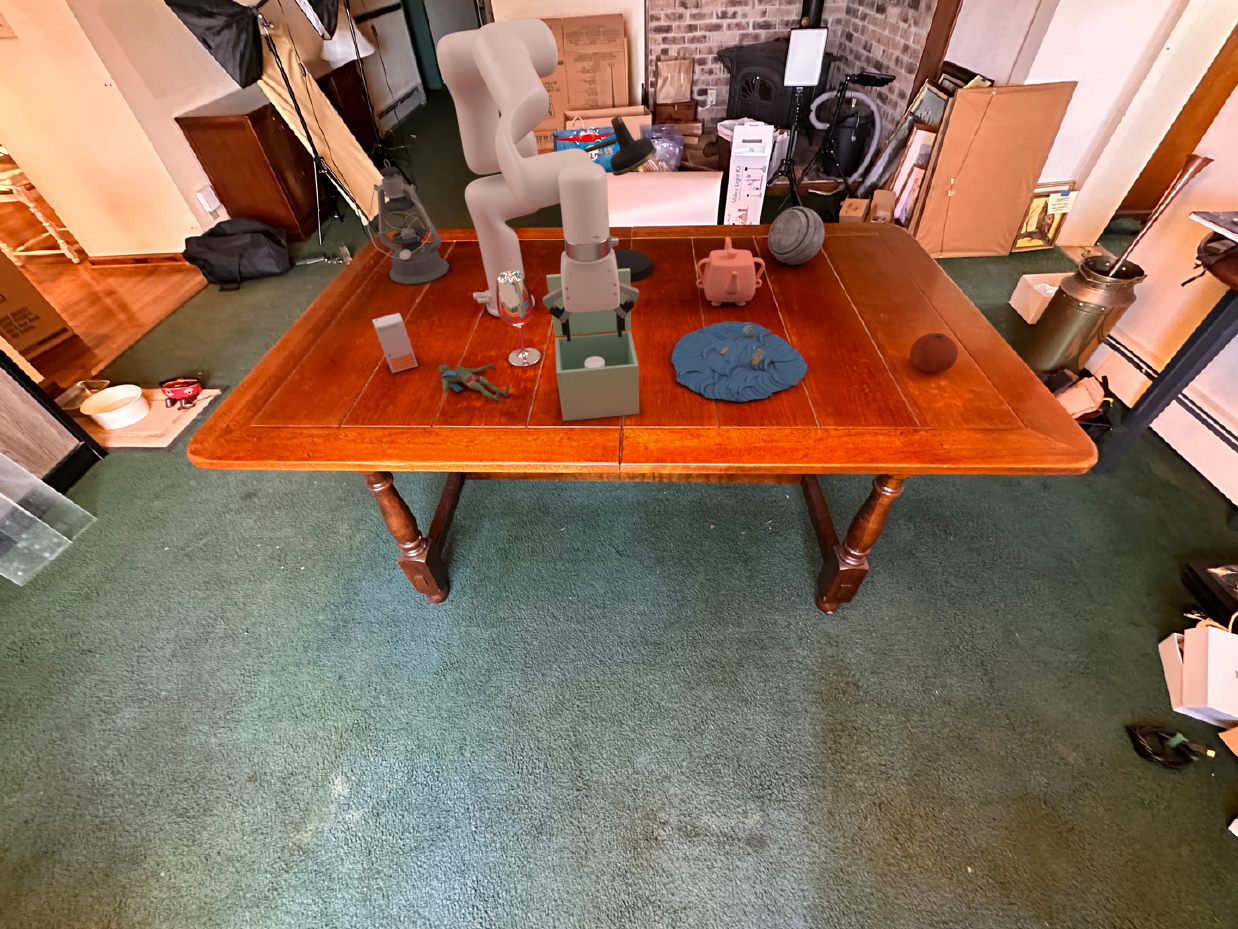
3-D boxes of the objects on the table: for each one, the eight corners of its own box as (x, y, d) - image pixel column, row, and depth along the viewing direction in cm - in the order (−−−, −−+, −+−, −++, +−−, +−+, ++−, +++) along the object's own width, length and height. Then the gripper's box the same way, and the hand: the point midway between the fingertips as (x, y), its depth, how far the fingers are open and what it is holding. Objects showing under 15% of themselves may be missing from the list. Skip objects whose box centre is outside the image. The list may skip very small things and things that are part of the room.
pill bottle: (607, 410, 114) (603, 371, 106) (582, 407, 115) (576, 368, 108) (614, 393, 117) (611, 355, 110) (590, 390, 118) (585, 352, 111)
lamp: (656, 281, 154) (658, 123, 127) (578, 284, 155) (563, 126, 128) (654, 256, 166) (655, 105, 138) (581, 258, 166) (568, 109, 139)
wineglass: (546, 351, 131) (534, 270, 117) (532, 369, 126) (518, 287, 112) (517, 346, 133) (501, 265, 119) (501, 364, 128) (484, 282, 114)
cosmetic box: (392, 374, 127) (374, 328, 118) (389, 365, 130) (371, 319, 121) (419, 366, 129) (403, 320, 120) (415, 357, 131) (399, 311, 123)
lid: (630, 270, 104) (627, 257, 107) (546, 277, 103) (545, 264, 106) (630, 330, 114) (628, 316, 117) (554, 336, 113) (554, 323, 116)
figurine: (478, 402, 111) (412, 374, 117) (479, 418, 113) (415, 390, 120) (526, 372, 122) (464, 348, 128) (527, 388, 124) (465, 364, 131)
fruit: (896, 362, 123) (908, 330, 118) (928, 353, 125) (941, 321, 120) (926, 384, 117) (940, 351, 112) (958, 373, 119) (974, 341, 114)
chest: (639, 413, 114) (638, 365, 105) (563, 421, 113) (556, 373, 105) (631, 377, 123) (630, 330, 114) (561, 384, 122) (555, 337, 114)
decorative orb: (755, 258, 162) (762, 205, 152) (793, 246, 167) (803, 194, 156) (790, 278, 153) (800, 222, 142) (829, 265, 157) (842, 210, 147)
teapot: (730, 319, 139) (736, 270, 130) (684, 295, 148) (686, 248, 139) (770, 299, 145) (778, 251, 136) (723, 277, 154) (728, 231, 146)
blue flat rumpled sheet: (795, 421, 112) (801, 401, 108) (654, 392, 120) (654, 373, 116) (814, 339, 131) (819, 320, 127) (690, 319, 139) (691, 300, 135)
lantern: (384, 293, 155) (342, 178, 134) (388, 263, 169) (351, 154, 148) (450, 284, 157) (419, 169, 136) (448, 254, 171) (420, 146, 150)
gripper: (636, 233, 96) (637, 321, 108) (535, 240, 95) (548, 328, 107) (641, 252, 91) (642, 342, 103) (535, 260, 90) (548, 350, 102)
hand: (594, 335), depth 105 cm, fingers open, 9 cm apart
